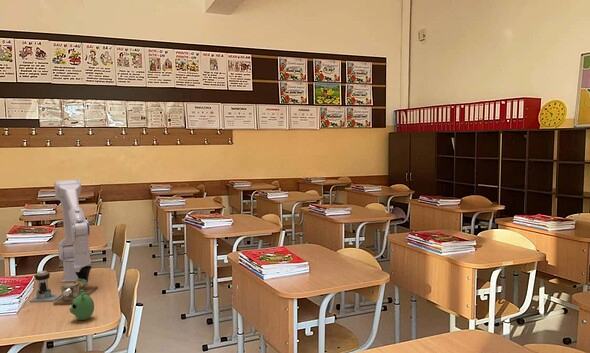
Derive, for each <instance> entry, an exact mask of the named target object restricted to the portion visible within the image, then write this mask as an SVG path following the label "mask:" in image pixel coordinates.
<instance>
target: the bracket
mask: <svg viewBox="0 0 590 353" xmlns="http://www.w3.org/2000/svg"><path fill="white" fill-rule="evenodd" d="M68 288H73V293H72V294H70V295H69V296H67V297H63V296H61V297H60V298H58V299H57V300H55V301H53V302H52V303H53V306H69V305H70V306H72V302H73V300H74V298H76V297H77V296H79V295H80V292H79V291H80V290H84V293H85V295H89V296H91V295H92V294H93V293H94V292H96V290H99V287H98V285H94V286H93V285H92V286H85V287H83V288H81V289H79V284H74V283H65V284H63V285H61V293H62V292H63V291H65V290H66V289H68Z"/></svg>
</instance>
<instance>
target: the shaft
mask: <svg viewBox="0 0 590 353" xmlns="http://www.w3.org/2000/svg"><path fill="white" fill-rule="evenodd" d="M73 282H74V283H73V284H79V289H81V288H83V287H87V285H88V282H87V281H86V279H85V278H79V279H77V280H76V281H73ZM86 284H87V285H86ZM72 293H73V288H68V289H66V290H65V291H63V292H62V291H61V294H62V296H63V297H67V296H69V295H70V294H72ZM62 296H61V297H62Z"/></svg>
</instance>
